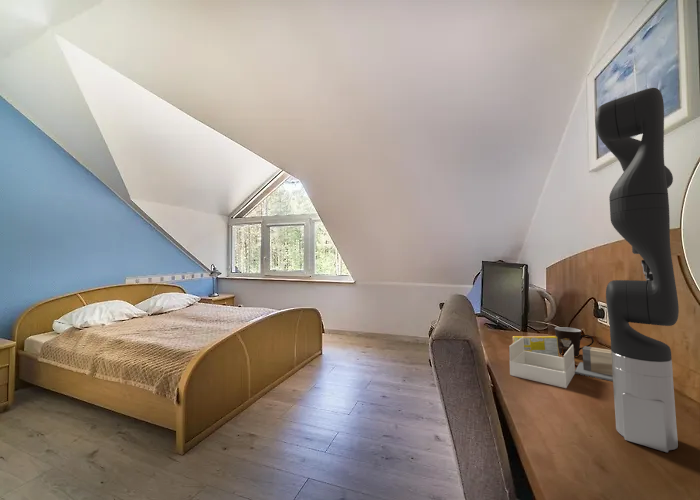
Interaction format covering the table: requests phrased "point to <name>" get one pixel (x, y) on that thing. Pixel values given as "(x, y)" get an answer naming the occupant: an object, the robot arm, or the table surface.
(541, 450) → the table surface
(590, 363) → the birch block
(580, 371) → the rubber mat
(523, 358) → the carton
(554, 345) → the candy box
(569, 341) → the coffee mug
